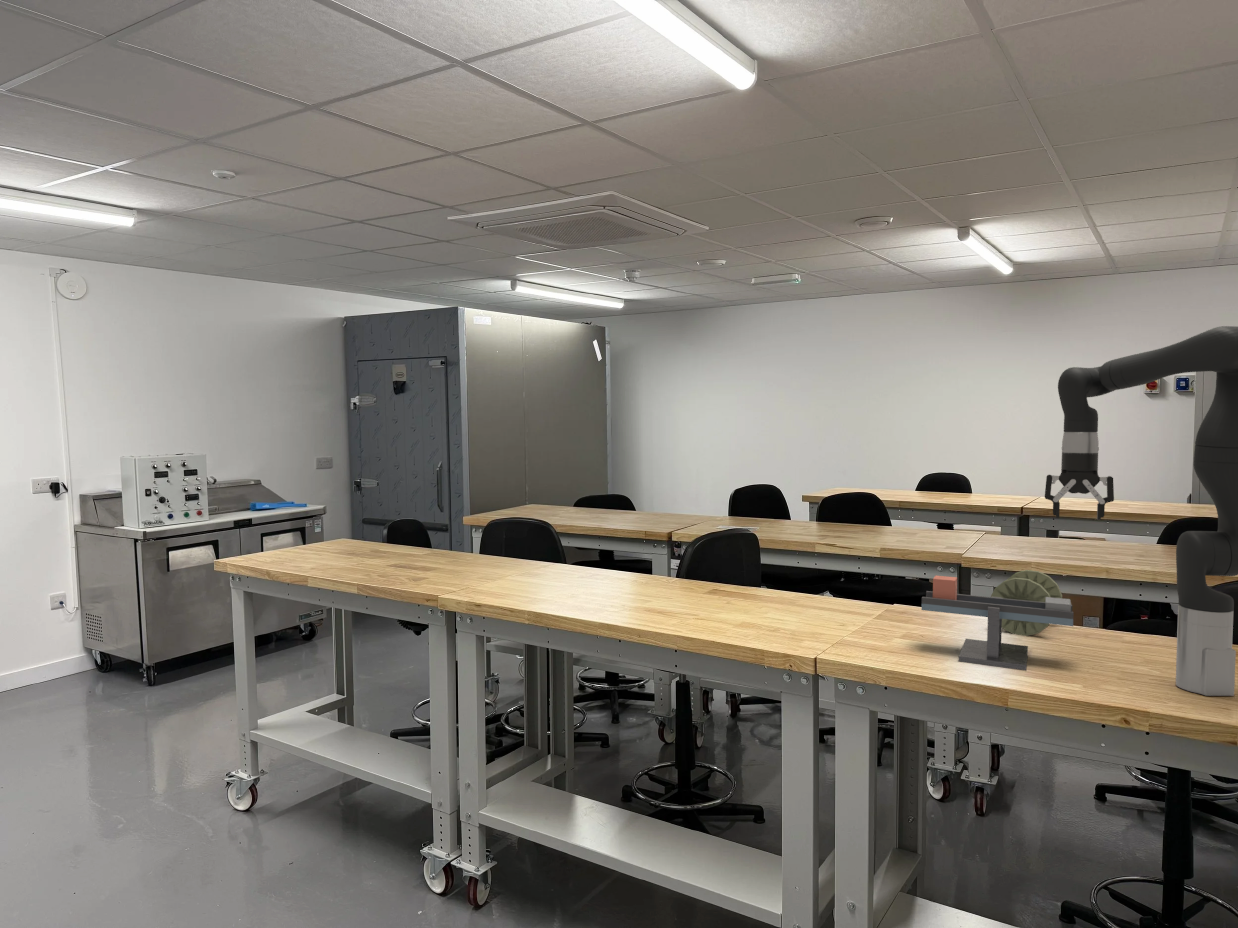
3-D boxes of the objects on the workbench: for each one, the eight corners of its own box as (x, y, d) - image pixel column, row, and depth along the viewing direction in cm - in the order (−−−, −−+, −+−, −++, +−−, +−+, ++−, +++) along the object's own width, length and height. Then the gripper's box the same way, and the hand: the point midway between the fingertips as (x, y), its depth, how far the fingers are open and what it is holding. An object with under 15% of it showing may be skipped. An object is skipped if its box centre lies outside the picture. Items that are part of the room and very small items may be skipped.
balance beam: (1071, 617, 182) (1072, 597, 182) (1073, 627, 173) (1073, 606, 173) (927, 602, 198) (927, 584, 198) (920, 610, 188) (921, 592, 188)
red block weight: (956, 601, 192) (957, 577, 191) (954, 605, 187) (955, 580, 187) (935, 599, 194) (935, 575, 194) (932, 602, 190) (933, 578, 189)
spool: (1051, 639, 201) (1053, 582, 200) (989, 630, 210) (990, 575, 209) (1061, 627, 214) (1062, 573, 213) (1002, 619, 223) (1003, 567, 223)
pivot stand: (1027, 650, 190) (1029, 598, 190) (1026, 670, 174) (1027, 613, 174) (965, 643, 197) (966, 592, 196) (958, 661, 181) (960, 606, 181)
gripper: (1113, 451, 185) (1111, 518, 186) (1045, 450, 192) (1044, 515, 192) (1116, 452, 178) (1114, 522, 179) (1045, 451, 185) (1044, 518, 186)
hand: (1077, 518), depth 186 cm, fingers open, 8 cm apart
